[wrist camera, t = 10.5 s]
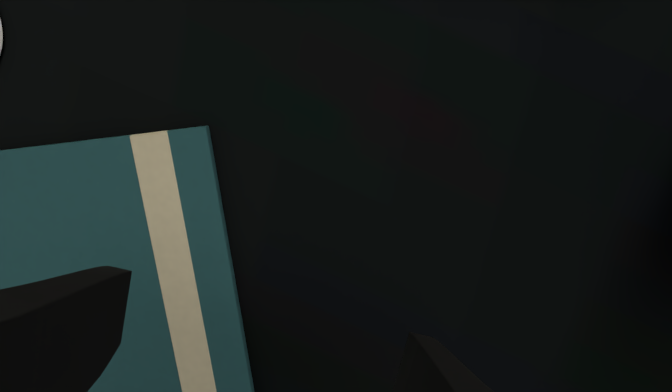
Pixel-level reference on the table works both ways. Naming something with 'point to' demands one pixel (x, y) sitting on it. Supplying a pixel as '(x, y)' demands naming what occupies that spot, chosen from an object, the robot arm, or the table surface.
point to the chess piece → (1, 36)
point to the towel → (135, 250)
